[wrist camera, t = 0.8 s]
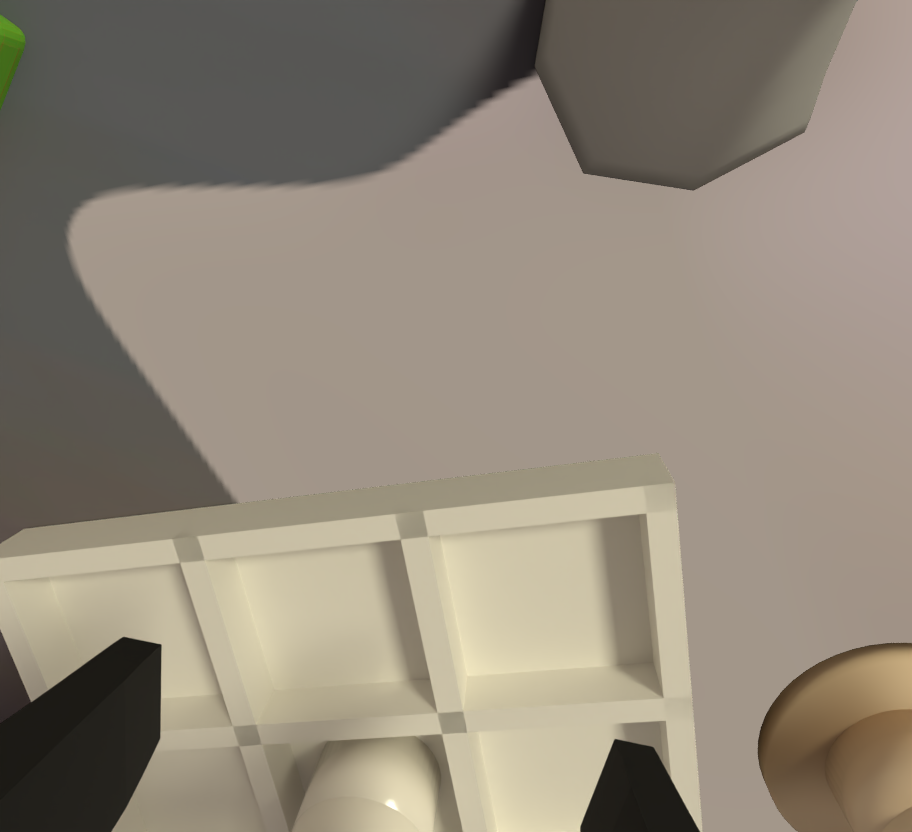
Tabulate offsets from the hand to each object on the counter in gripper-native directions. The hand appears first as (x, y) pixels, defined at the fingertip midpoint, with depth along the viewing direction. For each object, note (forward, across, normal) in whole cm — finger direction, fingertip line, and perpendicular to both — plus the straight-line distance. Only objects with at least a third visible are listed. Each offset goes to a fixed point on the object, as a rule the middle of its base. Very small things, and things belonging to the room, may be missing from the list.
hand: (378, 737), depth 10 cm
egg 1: (+9, 0, +12) cm, 15 cm away
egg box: (+10, +1, +9) cm, 13 cm away
